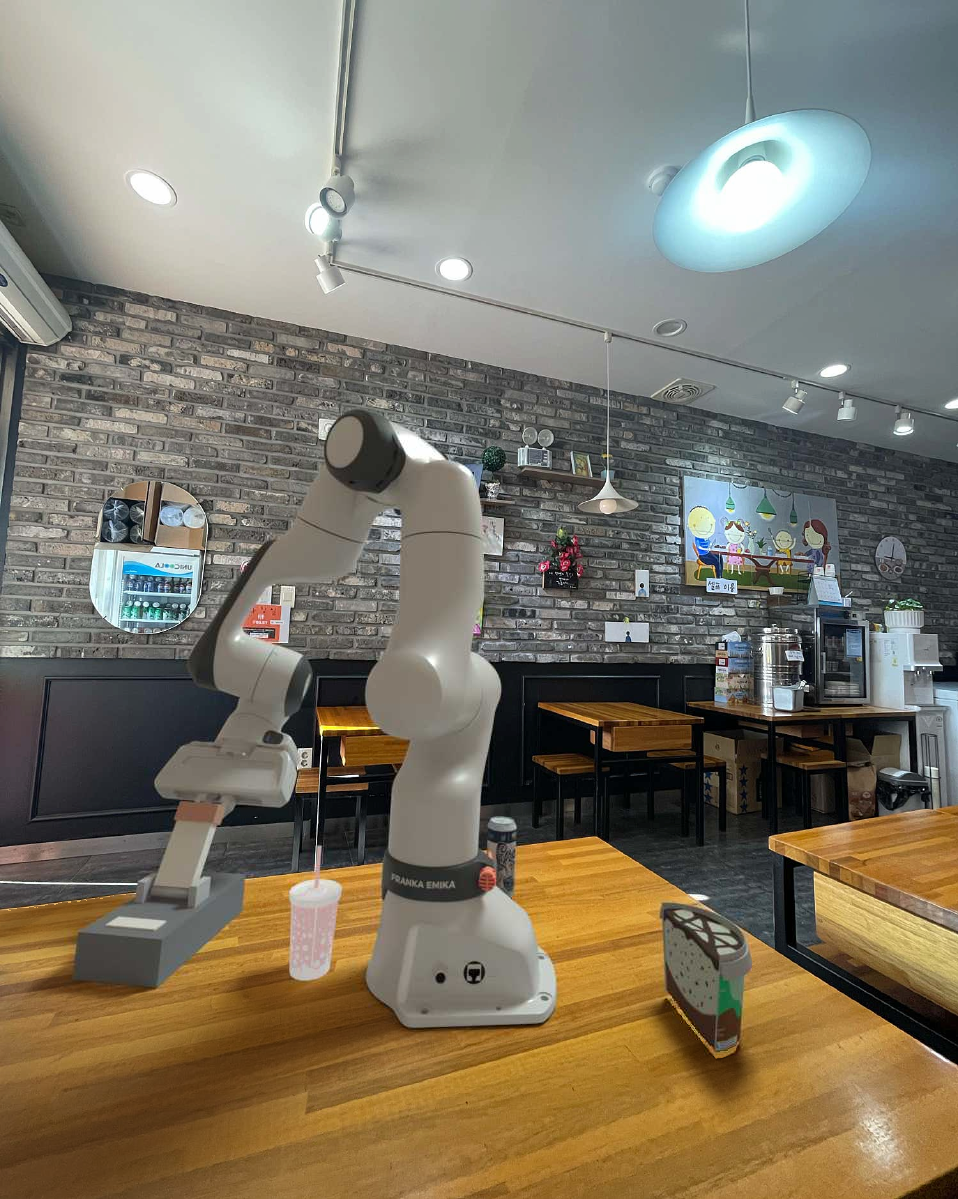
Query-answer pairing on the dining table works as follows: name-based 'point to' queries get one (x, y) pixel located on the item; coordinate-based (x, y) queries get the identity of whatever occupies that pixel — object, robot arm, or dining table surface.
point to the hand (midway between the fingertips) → (201, 828)
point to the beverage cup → (312, 925)
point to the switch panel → (156, 931)
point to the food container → (705, 970)
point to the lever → (187, 848)
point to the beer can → (503, 851)
